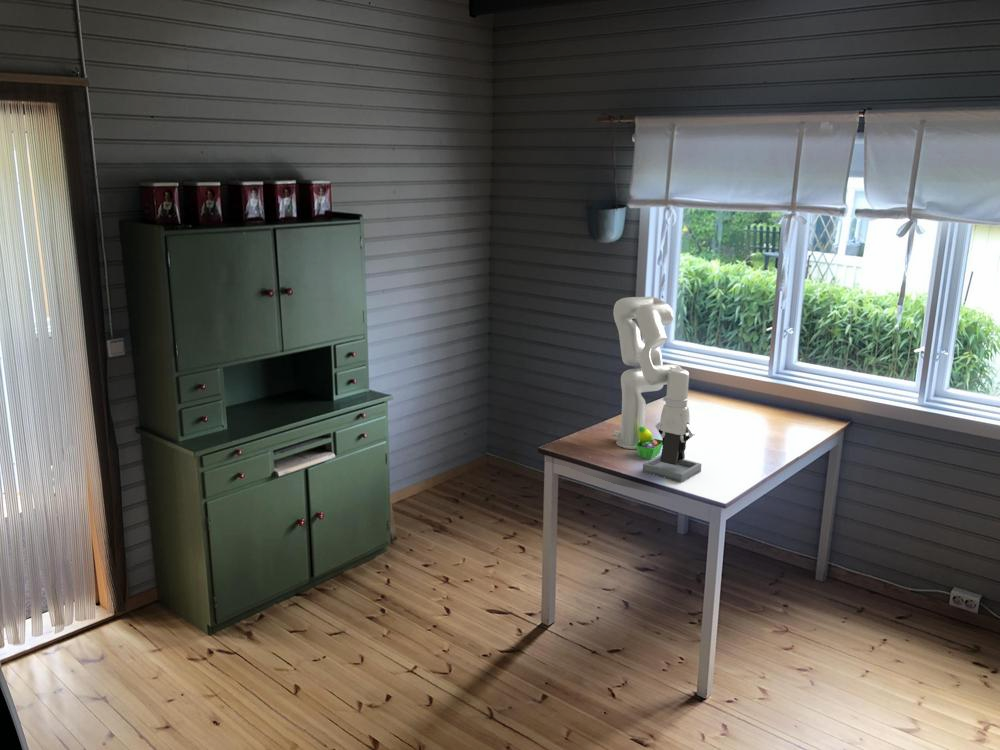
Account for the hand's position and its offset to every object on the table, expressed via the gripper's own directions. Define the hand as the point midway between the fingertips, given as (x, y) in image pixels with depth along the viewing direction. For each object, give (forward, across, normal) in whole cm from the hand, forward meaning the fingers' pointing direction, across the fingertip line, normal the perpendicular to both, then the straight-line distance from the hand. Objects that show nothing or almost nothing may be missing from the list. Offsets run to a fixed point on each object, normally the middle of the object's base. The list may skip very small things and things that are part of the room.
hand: (673, 449), depth 295 cm
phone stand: (+4, 0, 0) cm, 4 cm away
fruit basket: (+9, -16, +10) cm, 21 cm away
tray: (+9, 0, 0) cm, 9 cm away
